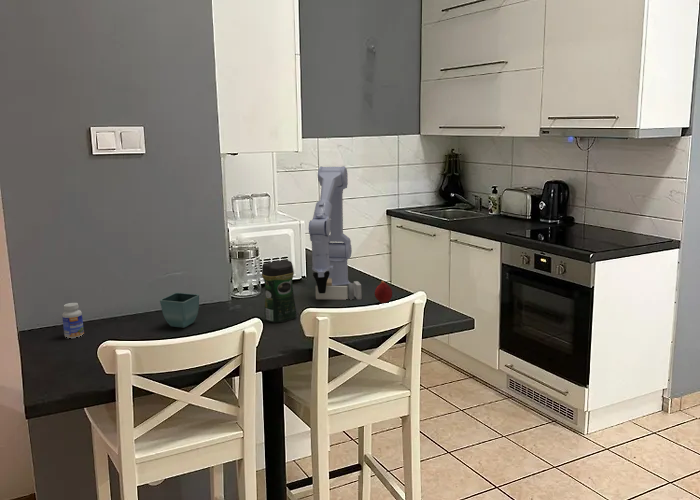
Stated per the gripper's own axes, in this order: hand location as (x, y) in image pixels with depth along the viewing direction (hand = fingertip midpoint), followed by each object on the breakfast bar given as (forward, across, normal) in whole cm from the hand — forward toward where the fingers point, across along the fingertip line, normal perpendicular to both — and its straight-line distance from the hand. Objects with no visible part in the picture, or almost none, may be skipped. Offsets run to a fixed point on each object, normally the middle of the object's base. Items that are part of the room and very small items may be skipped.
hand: (322, 293), depth 225 cm
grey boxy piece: (+2, +2, -11) cm, 11 cm away
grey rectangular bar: (+2, +1, -3) cm, 4 cm away
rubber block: (+2, +5, -2) cm, 6 cm away
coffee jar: (+3, -20, +13) cm, 24 cm away
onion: (+3, -8, -20) cm, 22 cm away
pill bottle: (+3, -28, +74) cm, 79 cm away
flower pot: (+3, -22, +43) cm, 48 cm away
